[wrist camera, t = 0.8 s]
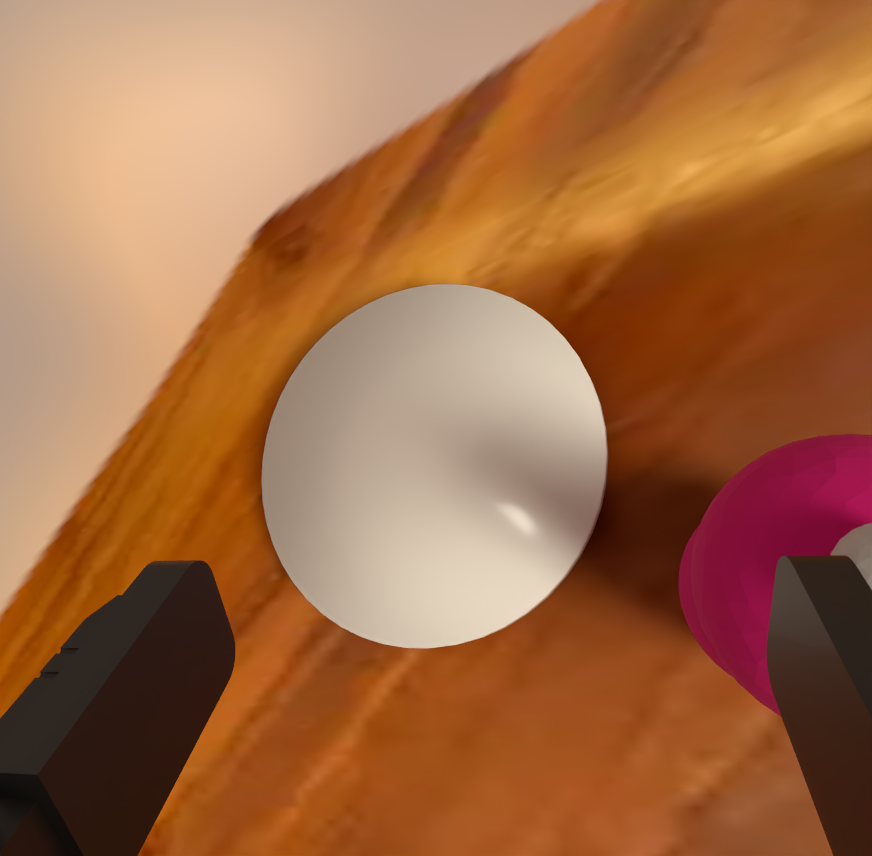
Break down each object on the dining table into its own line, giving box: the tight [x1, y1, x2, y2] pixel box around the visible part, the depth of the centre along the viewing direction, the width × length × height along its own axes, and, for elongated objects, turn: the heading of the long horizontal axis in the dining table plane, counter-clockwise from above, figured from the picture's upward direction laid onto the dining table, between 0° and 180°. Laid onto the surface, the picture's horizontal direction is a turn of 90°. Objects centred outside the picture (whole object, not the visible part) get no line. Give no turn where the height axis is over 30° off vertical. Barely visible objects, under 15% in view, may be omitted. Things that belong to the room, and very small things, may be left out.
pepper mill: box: [679, 434, 872, 717], centre depth 19 cm, size 7×7×20 cm
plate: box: [262, 284, 609, 648], centre depth 34 cm, size 18×18×2 cm
